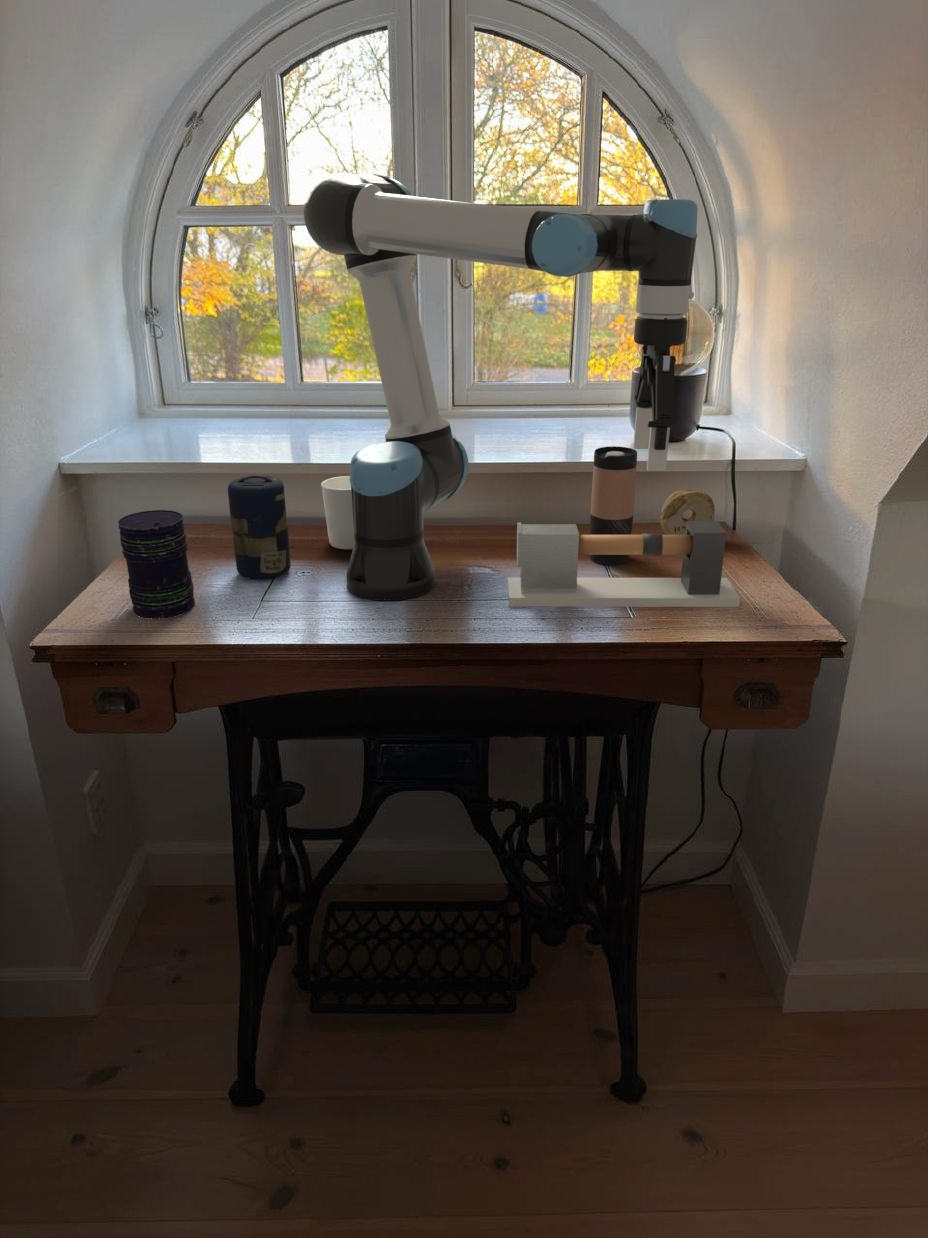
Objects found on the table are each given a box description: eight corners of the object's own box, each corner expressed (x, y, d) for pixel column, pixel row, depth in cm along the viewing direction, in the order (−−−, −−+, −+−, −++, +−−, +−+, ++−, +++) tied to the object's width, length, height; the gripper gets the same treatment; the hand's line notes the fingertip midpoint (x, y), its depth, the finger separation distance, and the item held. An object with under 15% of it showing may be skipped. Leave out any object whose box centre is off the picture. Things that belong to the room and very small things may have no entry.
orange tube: (571, 558, 143) (571, 537, 142) (569, 551, 146) (570, 530, 145) (708, 558, 143) (711, 537, 141) (703, 551, 146) (705, 530, 144)
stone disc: (706, 535, 176) (711, 485, 172) (713, 541, 172) (719, 491, 168) (655, 537, 175) (659, 487, 171) (661, 543, 171) (665, 493, 167)
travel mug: (628, 552, 167) (636, 446, 159) (631, 566, 160) (639, 456, 152) (587, 551, 168) (593, 445, 160) (588, 565, 161) (594, 455, 153)
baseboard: (508, 606, 144) (508, 597, 143) (507, 585, 152) (507, 577, 151) (739, 606, 143) (740, 598, 142) (725, 585, 151) (726, 577, 150)
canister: (251, 563, 163) (240, 466, 156) (300, 566, 161) (291, 469, 154) (228, 582, 155) (215, 480, 147) (279, 585, 153) (269, 483, 146)
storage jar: (124, 604, 146) (108, 517, 140) (183, 591, 151) (170, 506, 145) (144, 624, 138) (128, 533, 132) (205, 609, 144) (192, 521, 138)
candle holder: (378, 549, 170) (375, 487, 165) (326, 552, 168) (321, 490, 163) (374, 533, 178) (371, 474, 174) (325, 536, 177) (320, 477, 172)
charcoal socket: (688, 594, 144) (694, 532, 140) (680, 580, 149) (686, 521, 145) (719, 594, 144) (726, 532, 139) (710, 581, 149) (717, 521, 145)
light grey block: (517, 593, 145) (518, 532, 141) (516, 581, 150) (517, 522, 145) (576, 593, 145) (579, 532, 140) (573, 581, 149) (576, 522, 145)
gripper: (706, 325, 119) (689, 480, 127) (671, 307, 141) (658, 440, 150) (650, 324, 119) (636, 480, 127) (624, 307, 141) (614, 440, 150)
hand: (648, 459), depth 139 cm, fingers open, 13 cm apart
